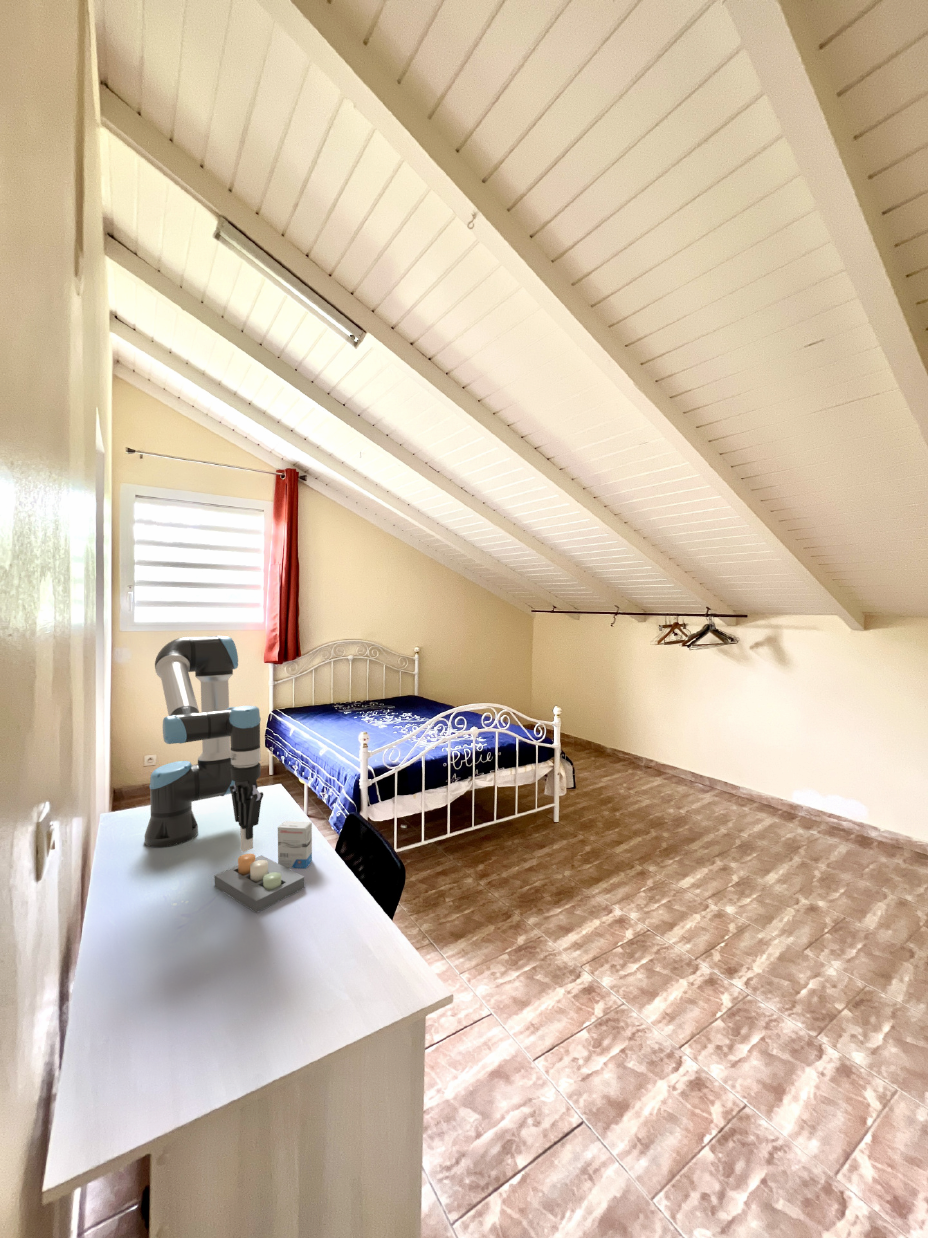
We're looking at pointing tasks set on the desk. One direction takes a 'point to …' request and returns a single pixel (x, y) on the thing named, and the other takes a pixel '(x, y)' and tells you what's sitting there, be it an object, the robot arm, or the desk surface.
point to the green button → (271, 880)
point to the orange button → (245, 863)
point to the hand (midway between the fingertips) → (246, 849)
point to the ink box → (295, 844)
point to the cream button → (258, 870)
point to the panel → (258, 886)
